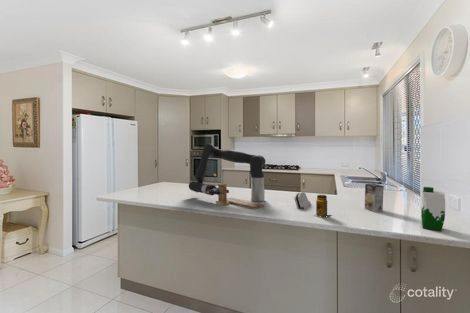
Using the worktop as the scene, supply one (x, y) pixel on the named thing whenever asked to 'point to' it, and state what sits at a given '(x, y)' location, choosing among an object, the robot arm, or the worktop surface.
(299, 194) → the light grey flat case
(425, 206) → the milk carton
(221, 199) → the upright board on stand
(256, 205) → the walnut board
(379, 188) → the coffee box
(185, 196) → the worktop surface
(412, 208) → the worktop surface
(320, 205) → the condiment
